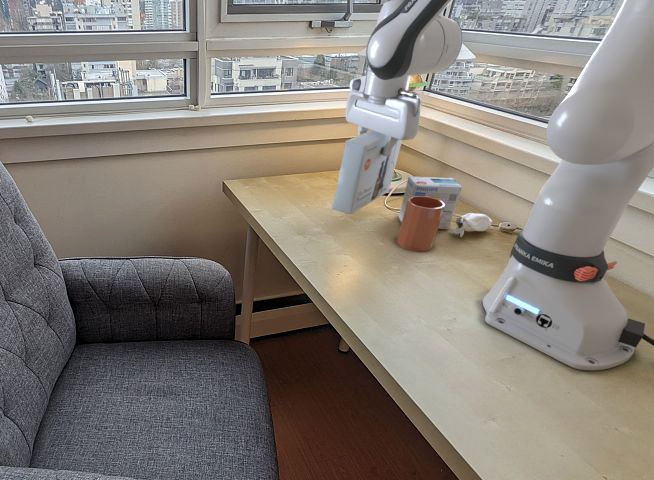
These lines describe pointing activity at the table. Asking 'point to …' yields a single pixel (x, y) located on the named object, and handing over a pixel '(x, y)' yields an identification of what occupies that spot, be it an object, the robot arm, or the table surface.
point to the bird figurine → (472, 223)
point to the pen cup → (420, 223)
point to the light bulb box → (434, 195)
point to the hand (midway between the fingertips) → (373, 150)
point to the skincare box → (364, 172)
